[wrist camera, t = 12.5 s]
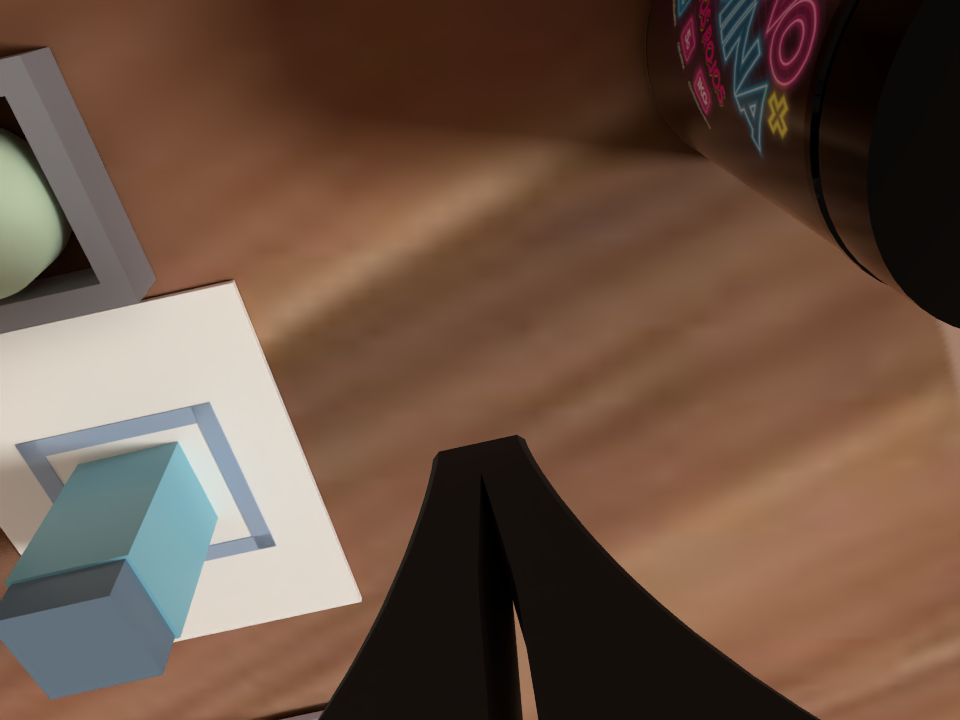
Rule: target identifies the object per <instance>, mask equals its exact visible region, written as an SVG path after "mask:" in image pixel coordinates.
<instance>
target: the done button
mask: <svg viewBox="0 0 960 720" xmlns="http://www.w3.org/2000/svg"><path fill="white" fill-rule="evenodd" d="M71 231H72V227H71V225H70V223H69V221H68V219H67V217H66V215H65V213H64V211H63V209H62V207H61V205H60V203H59V201H58V199H57V197H56V195H55V193H54V191H53V190H52V188H51V186H50V184H49V182H48V180H47V178H46V176H45V174H44V172H43V170H42V168H41V166H40V164H39V162H38V160H37V158H36V156H35V154H34V152H33V150H32V148H31V146H30V144H29V143H27V142H26V141H25V140H23V139H22V138H20V137H18V136H17V135H15V134H13V133H11V132H9V131H7V130H5V129H3V128H1V127H0V299H2V298H5V297H8V296H10V295H13V294H15V293H17V292H19V291H20V290H22V289H23V288H25V287H26V286H27V285H28V284H29V283H30V282H32V281H33V280H34V279H35V278H36V277H37V276H38V275H39V274H40V273H41V272H42V271H43V270H45V269H46V268H47V267H48V266H49V265H50V264H51V263H52V262H53V261H54V260H55V259H57V258H58V257H59V256H60V254H61V253H62V252H63V250H64V249H65V247H66V245H67V243H68V241H69V238H70V235H71Z"/></svg>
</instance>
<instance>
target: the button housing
mask: <svg viewBox="0 0 960 720" xmlns="http://www.w3.org/2000/svg"><path fill="white" fill-rule="evenodd" d="M3 96H5V97H6V99H7V101H8V103H9V105H10V107H11V109H12V111H13V113H14V115H15V117H16V119H17V121H18V123H19V125H20V126H21V128H22V130H23V132H24V134H25V136H26V138H27V140H28V142H29V144H30V146H31V148H32V150H33V152H34V154H35V156H36V158H37V160H38V162H39V164H40V166H41V168H42V170H43V172H44V174H45V176H46V178H47V180H48V182H49V184H50V186H51V188H52V190H53V191H54V193H55V195H56V197H57V199H58V201H59V203H60V205H61V207H62V209H63V211H64V213H65V215H66V217H67V219H68V221H69V223H70V225H71V227H72V229H73V231H74V233H75V235H76V237H77V239H78V241H79V243H80V245H81V247H82V249H83V251H84V253H85V255H86V256H87V258H88V260H89V262H90V264H91V266H92V268H88V269H83V270H79V271H74V272H70V273H65V274H61V275H56V276H52V277H47V278H43V279H38V280H34V281H32V282H30V283H29V284H28V285H27V286H26V287H25V288H23V289H22V290H20V291H19V292H17V293H15V294H13V295H10V296H8V297H5V298H2V299H0V333H4V332H8V331H13V330H17V329H22V328H26V327H31V326H35V325H40V324H44V323H49V322H53V321H58V320H62V319H67V318H72V317H76V316H81V315H85V314H90V313H94V312H99V311H103V310H108V309H112V308H117V307H121V306H126V305H130V304H135V303H139V302H140V301H141V300H142V298H143V297H144V295H145V294H146V293H147V291H148V290H149V289H150V287H151V286H152V284H153V283H154V282H155V280H156V277H155V275H154V273H153V271H152V269H151V267H150V264H149V262H148V260H147V258H146V256H145V254H144V252H143V249H142V247H141V245H140V243H139V241H138V239H137V236H136V234H135V232H134V230H133V228H132V226H131V223H130V221H129V219H128V217H127V215H126V213H125V210H124V208H123V206H122V204H121V202H120V200H119V197H118V195H117V193H116V191H115V189H114V187H113V184H112V182H111V180H110V178H109V176H108V174H107V172H106V169H105V167H104V165H103V163H102V161H101V159H100V156H99V154H98V152H97V150H96V148H95V146H94V143H93V141H92V139H91V137H90V135H89V133H88V130H87V128H86V126H85V124H84V122H83V120H82V117H81V115H80V113H79V111H78V109H77V107H76V104H75V102H74V100H73V98H72V96H71V94H70V92H69V89H68V87H67V85H66V83H65V81H64V79H63V76H62V74H61V72H60V70H59V68H58V66H57V63H56V61H55V59H54V57H53V55H52V53H51V50H50V48H49V47H46V48H41V49H37V50H32V51H28V52H24V53H19V54H15V55H10V56H6V57H1V58H0V97H3Z"/></svg>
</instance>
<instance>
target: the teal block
mask: <svg viewBox="0 0 960 720" xmlns="http://www.w3.org/2000/svg"><path fill="white" fill-rule="evenodd" d="M217 519H218V516H217V514H216V513H215V511H214V509H213V507H212V505H211V503H210V501H209V499H208V497H207V495H206V493H205V492H204V490H203V488H202V486H201V484H200V482H199V480H198V478H197V476H196V474H195V473H194V471H193V469H192V467H191V465H190V463H189V461H188V459H187V457H186V455H185V453H184V452H183V450H182V448H181V446H180V444H179V442H174V443H169V444H165V445H161V446H156V447H152V448H147V449H143V450H139V451H134V452H130V453H125V454H121V455H117V456H112V457H108V458H104V459H99V460H95V461H90V462H86V463H82V464H78V465H77V466H76V468H75V470H74V471H73V473H72V474H71V476H70V478H69V479H68V481H67V483H66V484H65V486H64V487H63V489H62V491H61V492H60V494H59V496H58V497H57V499H56V500H55V502H54V504H53V505H52V507H51V509H50V510H49V512H48V513H47V515H46V517H45V518H44V520H43V522H42V523H41V525H40V526H39V528H38V530H37V531H36V533H35V535H34V536H33V538H32V539H31V541H30V543H29V544H28V546H27V548H26V549H25V551H24V552H23V554H22V556H21V557H20V559H19V560H18V562H17V564H16V565H15V567H14V569H13V570H12V572H11V573H10V575H9V577H8V578H7V580H6V582H5V584H6V585H7V587H8V590H7V592H6V593H5V595H4V597H3V598H2V600H1V601H0V639H1V641H2V642H3V643H4V644H5V645H6V647H7V648H8V649H9V650H10V651H11V653H12V654H13V655H14V656H15V657H16V659H17V660H18V661H19V662H20V663H21V665H22V666H23V667H24V668H25V669H26V671H27V672H28V673H29V674H30V676H31V677H32V678H33V679H34V680H35V682H36V683H37V684H38V685H39V686H40V688H41V689H42V690H43V691H44V692H45V694H46V695H47V696H48V697H49V698H50V700H51V699H56V698H60V697H65V696H69V695H74V694H78V693H83V692H87V691H92V690H96V689H101V688H105V687H110V686H114V685H118V684H123V683H127V682H132V681H136V680H141V679H145V678H150V677H154V676H159V675H163V673H164V670H165V666H166V663H167V660H168V657H169V654H170V651H171V648H172V645H173V642H174V639H177V638H180V637H181V634H182V631H183V628H184V624H185V621H186V618H187V615H188V612H189V609H190V605H191V602H192V599H193V596H194V593H195V589H196V586H197V583H198V580H199V577H200V574H201V570H202V567H203V564H204V561H205V558H206V554H207V551H208V548H209V545H210V542H211V538H212V535H213V532H214V529H215V526H216V523H217Z"/></svg>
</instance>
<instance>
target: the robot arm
mask: <svg viewBox="0 0 960 720" xmlns="http://www.w3.org/2000/svg"><path fill="white" fill-rule="evenodd" d="M513 603H514V606H515V610H516V613H517V617H518V620H519V623H520V627H521V630H522V634H523V637H524V641H525V644H526V648H527V653H528V659H529V665H530V671H531V677H532V683H533V689H534V695H535V701H536V708H537V714H538V720H820V719H819V718H817V717H815V716H814V715H812V714H810V713H809V712H807V711H806V710H804V709H802V708H801V707H799V706H798V705H796V704H795V703H793V702H792V701H790V700H789V699H787V698H786V697H784V696H783V695H781V694H780V693H778V692H777V691H775V690H774V689H772V688H771V687H769V686H768V685H766V684H765V683H763V682H762V681H760V680H759V679H757V678H756V677H754V676H753V675H752V674H750V673H749V672H748V671H746V670H745V669H744V668H742V667H741V666H740V665H738V664H737V663H736V662H734V661H733V660H732V659H730V658H729V657H727V656H726V655H725V654H723V653H722V652H721V651H719V650H718V649H717V648H715V647H714V646H713V645H711V644H710V643H709V642H707V641H706V640H705V639H703V638H702V637H701V636H699V635H698V634H697V633H695V632H694V631H693V630H692V629H690V628H689V627H688V626H687V625H685V624H684V623H683V622H682V621H681V620H680V619H678V618H677V617H676V616H675V615H674V614H672V613H671V612H670V611H669V610H668V609H667V608H665V607H664V606H663V605H662V604H661V603H660V602H658V601H657V600H656V599H655V598H654V597H653V596H652V595H651V594H650V593H648V592H647V591H646V590H645V589H644V588H643V587H642V586H641V585H640V584H639V583H638V582H636V581H635V580H634V579H633V578H632V577H631V576H630V575H629V574H628V573H627V572H626V571H625V570H624V569H623V568H622V567H621V566H620V565H619V564H618V563H617V562H616V561H615V560H614V559H613V558H612V557H611V556H610V554H609V553H608V552H607V551H606V550H605V549H604V548H603V547H602V546H601V545H600V544H599V543H598V542H597V541H596V540H595V538H594V537H593V536H592V535H591V534H590V533H589V532H588V530H587V529H586V528H585V527H584V526H583V525H582V524H581V522H580V521H579V520H578V519H577V517H576V516H575V515H574V514H573V512H572V511H571V510H570V509H569V508H568V506H567V505H566V504H565V503H564V501H563V500H562V499H561V498H560V496H559V495H558V494H557V492H556V491H555V490H554V488H553V487H552V485H551V484H550V482H549V481H548V480H547V478H546V477H545V475H544V474H543V472H542V471H541V469H540V467H539V466H538V464H537V463H536V461H535V459H534V457H533V456H532V454H531V452H530V450H529V448H528V446H527V443H526V441H525V439H523V438H522V437H520V436H518V435H514V436H509V437H505V438H500V439H495V440H491V441H486V442H481V443H477V444H472V445H468V446H463V447H458V448H454V449H449V450H445V451H440V452H438V454H437V455H436V456H435V458H434V459H433V464H432V470H431V474H430V478H429V483H428V486H427V490H426V494H425V497H424V500H423V504H422V507H421V510H420V513H419V516H418V519H417V522H416V525H415V527H414V530H413V533H412V536H411V539H410V541H409V544H408V547H407V550H406V552H405V555H404V557H403V560H402V562H401V565H400V567H399V569H398V571H397V574H396V576H395V578H394V581H393V583H392V585H391V587H390V590H389V592H388V594H387V597H386V599H385V601H384V603H383V605H382V608H381V610H380V612H379V614H378V616H377V618H376V620H375V622H374V624H373V626H372V628H371V630H370V632H369V634H368V635H367V637H366V639H365V641H364V643H363V645H362V647H361V648H360V650H359V652H358V654H357V656H356V658H355V659H354V661H353V663H352V665H351V666H350V668H349V670H348V672H347V673H346V675H345V677H344V678H343V680H342V681H341V683H340V685H339V686H338V688H337V690H336V691H335V693H334V695H333V696H332V698H331V699H330V701H329V703H328V704H327V706H326V708H325V709H324V710H323V711H318V712H314V713H309V714H304V715H300V716H295V717H290V718H286V719H281V720H523V717H522V705H521V693H520V681H519V669H518V657H517V645H516V633H515V621H514V610H513Z"/></svg>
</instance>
